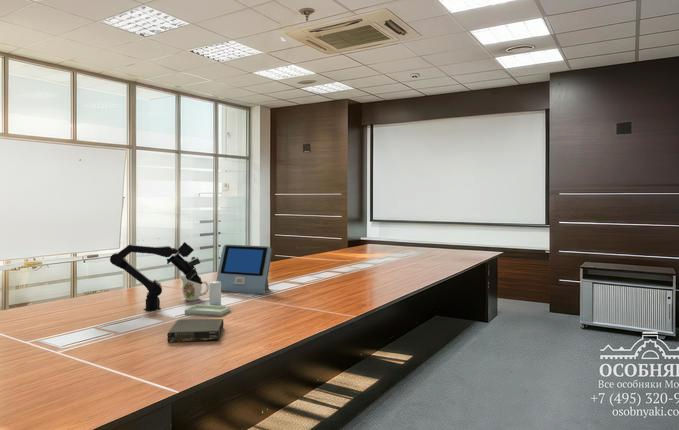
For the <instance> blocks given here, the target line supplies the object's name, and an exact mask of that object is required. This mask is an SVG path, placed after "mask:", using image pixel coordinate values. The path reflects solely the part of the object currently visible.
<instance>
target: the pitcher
mask: <svg viewBox="0 0 679 430" xmlns="http://www.w3.org/2000/svg"><path fill="white" fill-rule="evenodd" d="M199 277H200V279H201V280H202V277H201V276H199ZM178 278H179V279H181V281H182V295H183V298H184V300H186V301H189V302H191V301H192V302H193V301H194V302H195V301H197V300H199V298H200V297H203V296H205V295H207V294H208V293H209V283H208V281H205V280H204V281H203V280H202V284H205V286H206V290H205V291H204V292H202V284H199V283H196V282H193V281H189V280H188V279H186V275H179V276H178Z"/></svg>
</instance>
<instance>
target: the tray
mask: <svg viewBox="0 0 679 430" xmlns="http://www.w3.org/2000/svg"><path fill="white" fill-rule="evenodd" d="M230 311H231V305H220V306H216V305H209V304H198V303H197V304H194V305H191V306H190V307H187V308H185V309H184V315H186V316H188V315H190V316H191V315H193V316H206V317H207V316H208V317H223V316H224V315H225V314H227V313H229V312H230Z"/></svg>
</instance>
